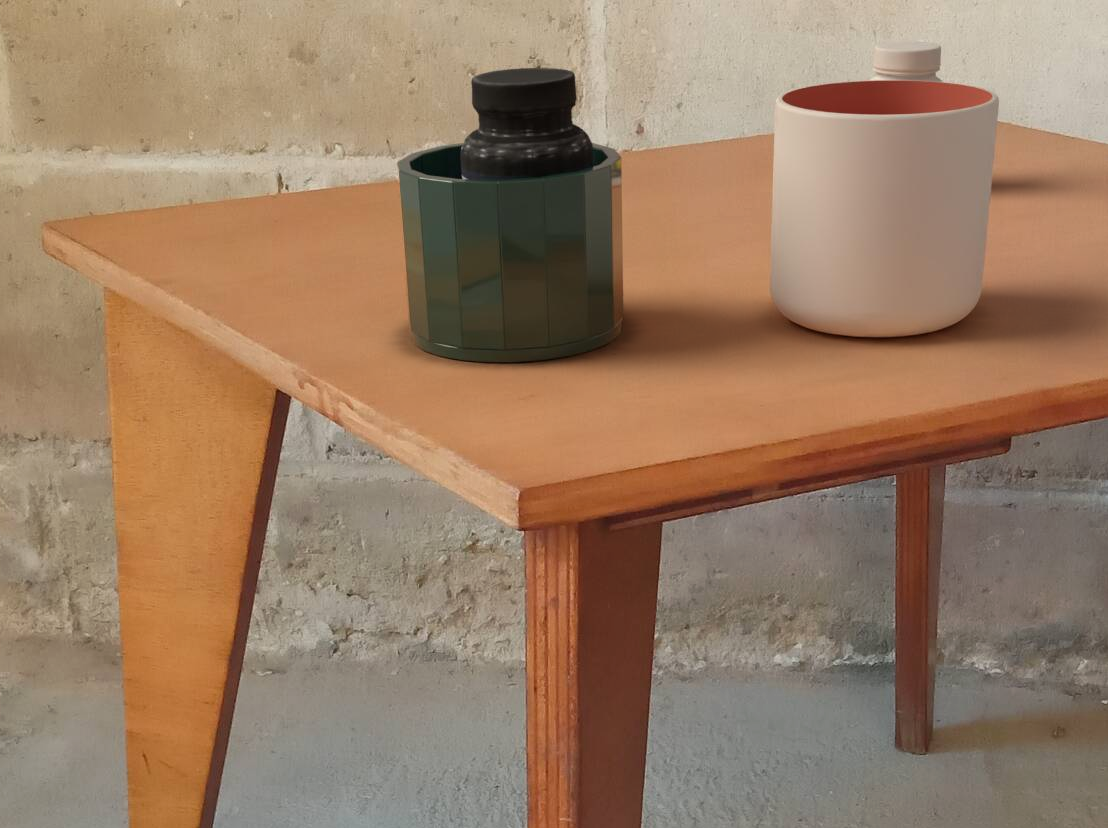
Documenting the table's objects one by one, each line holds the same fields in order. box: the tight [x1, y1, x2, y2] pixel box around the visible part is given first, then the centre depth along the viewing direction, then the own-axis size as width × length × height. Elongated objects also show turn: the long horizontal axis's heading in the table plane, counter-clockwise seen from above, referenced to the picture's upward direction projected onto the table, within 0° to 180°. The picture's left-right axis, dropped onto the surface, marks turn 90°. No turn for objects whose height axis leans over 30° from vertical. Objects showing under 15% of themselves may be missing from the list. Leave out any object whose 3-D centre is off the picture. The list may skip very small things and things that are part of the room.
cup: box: [769, 79, 1000, 338], centre depth 80 cm, size 10×10×10 cm
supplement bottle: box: [868, 41, 943, 82], centre depth 104 cm, size 5×5×8 cm
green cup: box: [396, 142, 624, 363], centre depth 80 cm, size 10×10×8 cm
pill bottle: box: [460, 67, 594, 180], centre depth 79 cm, size 6×6×11 cm
